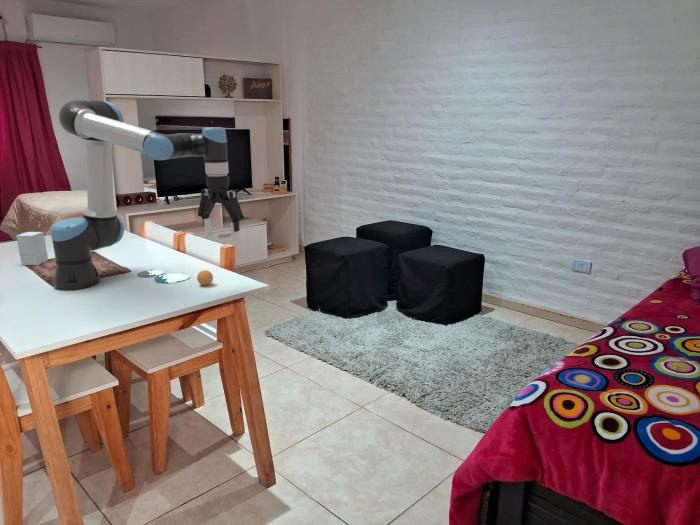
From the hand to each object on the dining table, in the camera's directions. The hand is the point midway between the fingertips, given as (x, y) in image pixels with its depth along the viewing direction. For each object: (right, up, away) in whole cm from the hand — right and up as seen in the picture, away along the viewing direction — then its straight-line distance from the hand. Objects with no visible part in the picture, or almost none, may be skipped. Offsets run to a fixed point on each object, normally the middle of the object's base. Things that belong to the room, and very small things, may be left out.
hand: (221, 238), depth 185 cm
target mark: (-23, -14, +18) cm, 32 cm away
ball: (-8, -14, +9) cm, 18 cm away
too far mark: (-33, -12, +23) cm, 43 cm away
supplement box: (-87, -9, +39) cm, 96 cm away
